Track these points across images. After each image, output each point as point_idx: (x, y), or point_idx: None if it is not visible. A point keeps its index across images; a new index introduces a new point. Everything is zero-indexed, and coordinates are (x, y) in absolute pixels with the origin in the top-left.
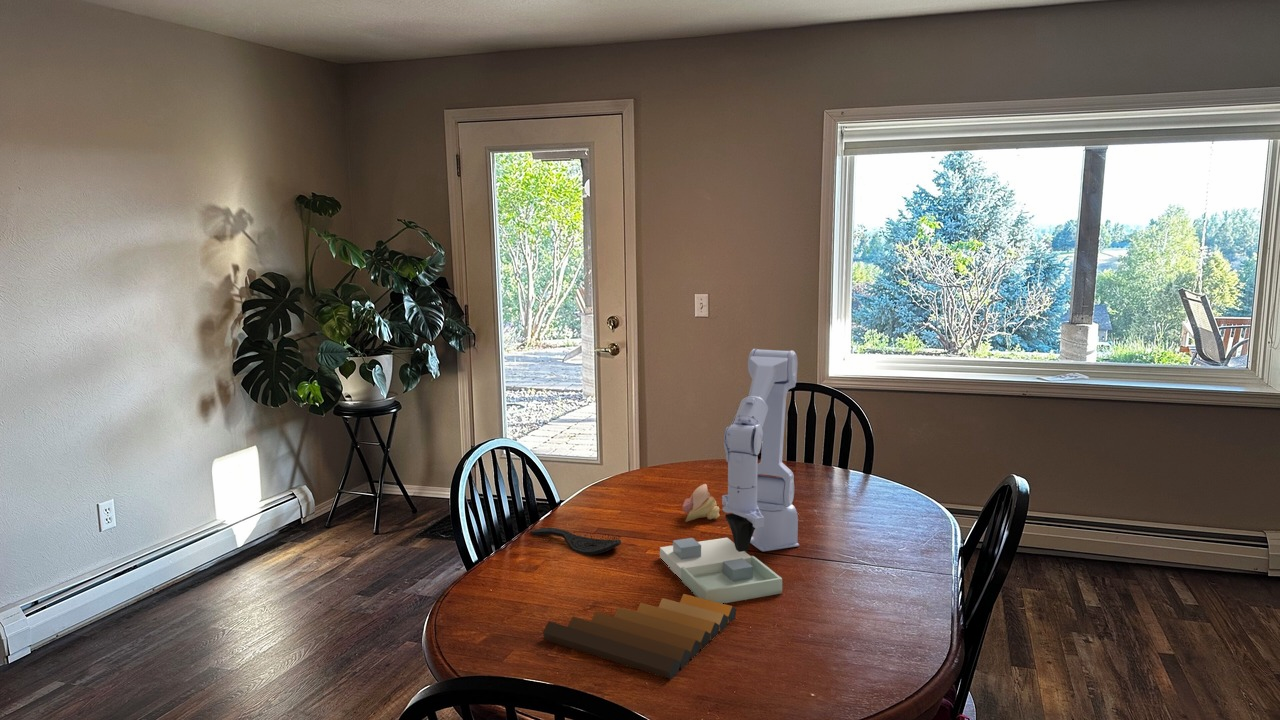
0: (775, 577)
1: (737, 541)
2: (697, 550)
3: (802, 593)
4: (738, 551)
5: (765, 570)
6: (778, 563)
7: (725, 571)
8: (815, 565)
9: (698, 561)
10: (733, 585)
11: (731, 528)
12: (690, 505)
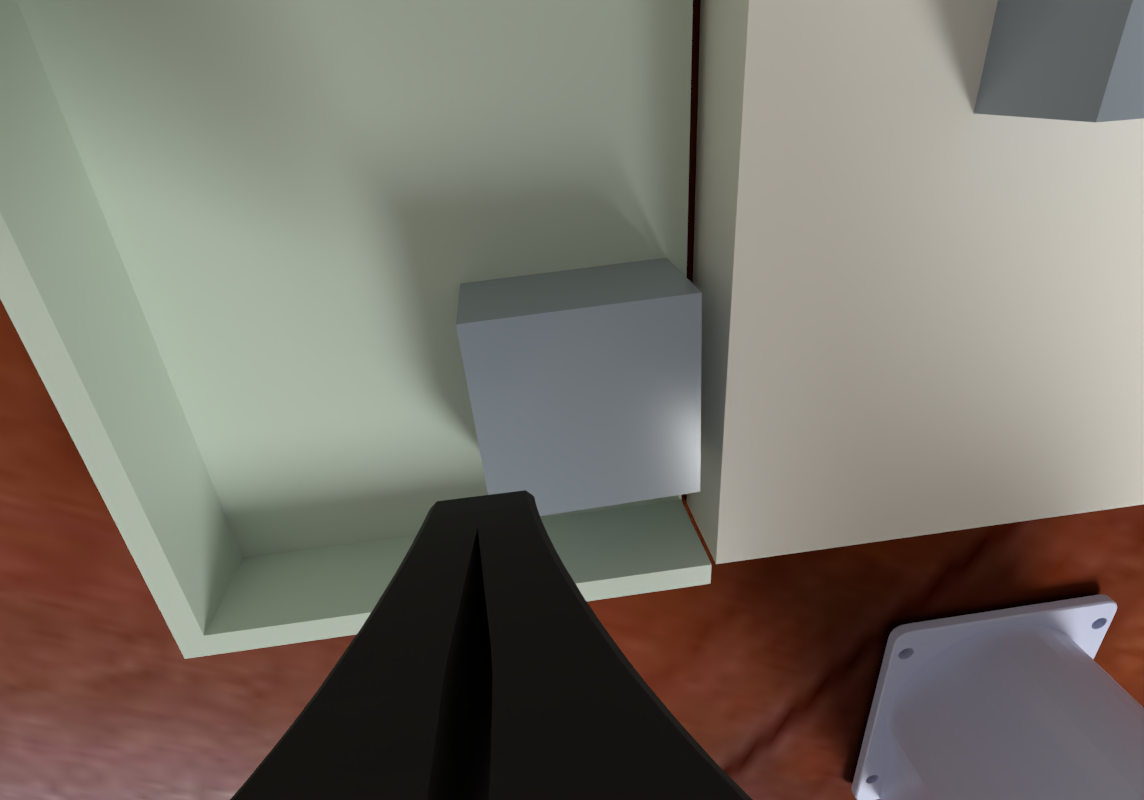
0: (258, 616)
1: (373, 611)
2: (1054, 58)
3: (223, 666)
4: (448, 500)
5: None
6: (701, 659)
7: (618, 275)
8: None
9: (873, 21)
10: None
11: (603, 765)
12: None
